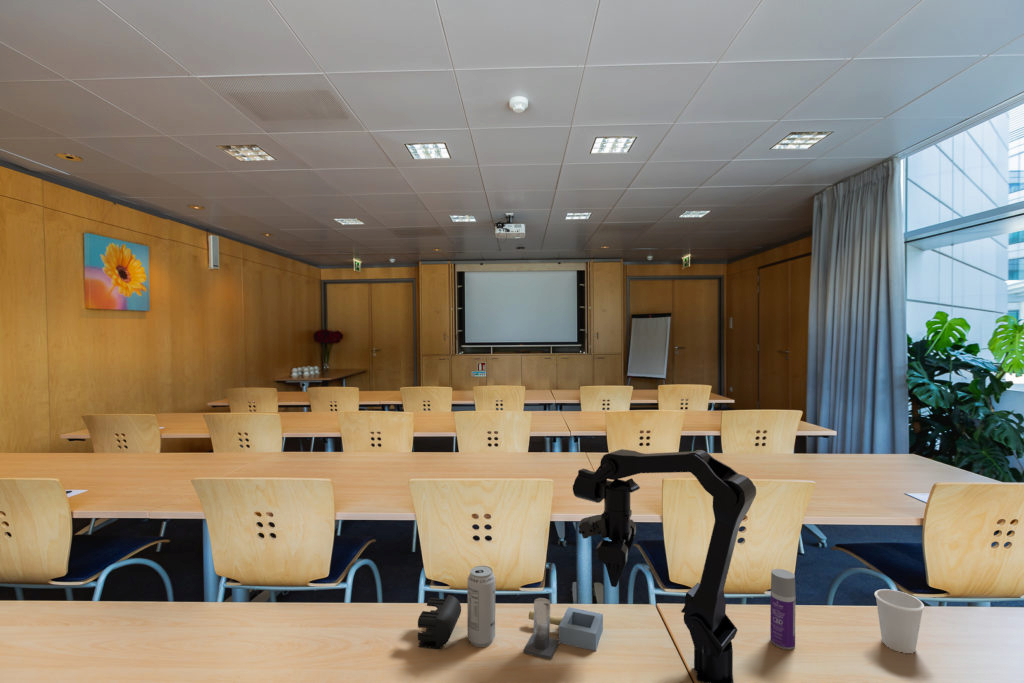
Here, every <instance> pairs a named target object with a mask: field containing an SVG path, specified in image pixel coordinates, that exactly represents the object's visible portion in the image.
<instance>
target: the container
mask: <svg viewBox="0 0 1024 683" xmlns="http://www.w3.org/2000/svg"><path fill="white" fill-rule="evenodd" d="M770 578H771V579H770V643H771V644H772V643H773V644H774V645H773V644H772V645H773V646H775V645H776V646H777V647H776V646H775V647H776V648H778V647H780V648H779V649H781V648H782V649H781V650H785V649H790V650H789V651H792V650H794V649H795V648H796V576H795V574H794V573H793V572H791V571H789V570H787V569H782V568H773V569H771V572H770ZM791 649H792V650H791Z"/></svg>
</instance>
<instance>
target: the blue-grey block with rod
mask: <svg viewBox="0 0 1024 683" xmlns="http://www.w3.org/2000/svg"><path fill="white" fill-rule="evenodd" d="M528 620H530V621H534V611H531V610H530V611H529V612H528ZM550 625H555V626H558V640H559V642H560V643H559V644H564V645H567V644H568V646H572V647H576V646H577V647H576V648H581V649H585V650H590V651H595V652H597V649H598V646H599V643H600V640H601V637H602V634H603V630H604V614H603V613H600V612H595V611H589V610H584V609H580V608H574V607H571V606H570V607H569V606H568V607H567V609H566V611H565V612H564V615H563V617H561V616H560V617H559V616H555V615H550Z"/></svg>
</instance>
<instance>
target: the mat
mask: <svg viewBox="0 0 1024 683" xmlns="http://www.w3.org/2000/svg"><path fill="white" fill-rule="evenodd" d="M558 643H559V639H556V638H553V637H549V647H548V648H547V649H544V650H540V649H537V648H535V647H534V645H533V633H532V634H531V636H530V637H529V639H528V641H527V643H526V645H525V647H524V648H523V652H522V653H523V654H526V655H531V656H534V657H538V658H542V659H547V660H552V659H553V656H554V654H555V652H556V650H557V647H558V645H559V644H560V643H559V644H558Z"/></svg>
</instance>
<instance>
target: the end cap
mask: <svg viewBox="0 0 1024 683" xmlns="http://www.w3.org/2000/svg"><path fill="white" fill-rule="evenodd" d="M426 607H435V608H436V610H434V609H433V610H432V609H431V610H430V611H426V610H423V611H422V612H421V613H420V614H419V616H418V620H417V628H421V629H425V630H424V631H421V632H417V641H418V647H419V648H421V649H429V650H430V649H433V650H440V649H441V648H442V647H444V646H445V645H446V644H448V643H449V640H450V639H451V636H452V634H453V631H454V630H455V627H456V625H457V623H458V621H459V619H460V616H461V613H462V605H461V603H460V601H459V600H458V599H457V597H455V596H454V595H451V594H448V595H447V597H446V598H436V597H435V598H433V597H430V598H429V599H428V601H427V603H426Z"/></svg>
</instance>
